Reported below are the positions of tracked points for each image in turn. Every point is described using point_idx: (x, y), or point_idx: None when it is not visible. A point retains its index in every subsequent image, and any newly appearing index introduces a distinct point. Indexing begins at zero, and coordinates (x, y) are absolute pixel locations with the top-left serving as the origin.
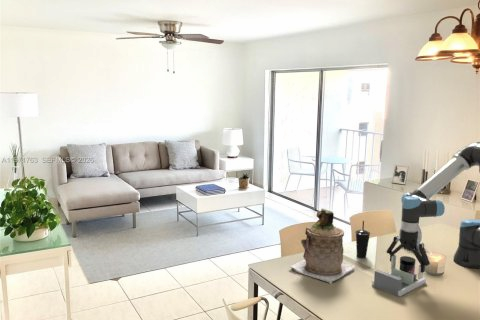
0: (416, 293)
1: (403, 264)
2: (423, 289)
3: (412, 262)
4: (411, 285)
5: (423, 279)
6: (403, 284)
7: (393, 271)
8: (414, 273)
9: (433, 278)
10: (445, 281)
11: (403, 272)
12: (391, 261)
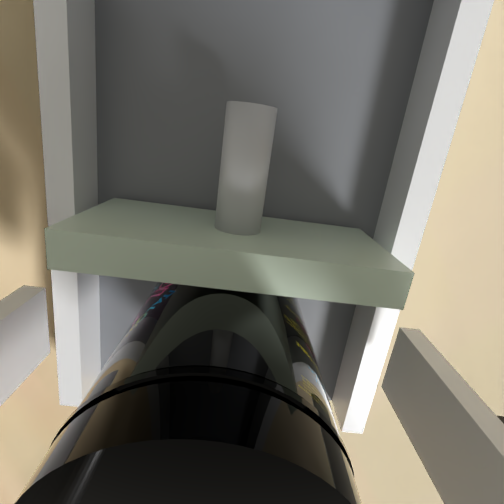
0: (7, 86)
1: (222, 360)
2: (22, 237)
3: (22, 495)
4: (47, 109)
5: (59, 365)
6: (198, 184)
7: (361, 252)
8: None
9: None
10: (8, 490)
11: (202, 246)
12: (487, 408)
